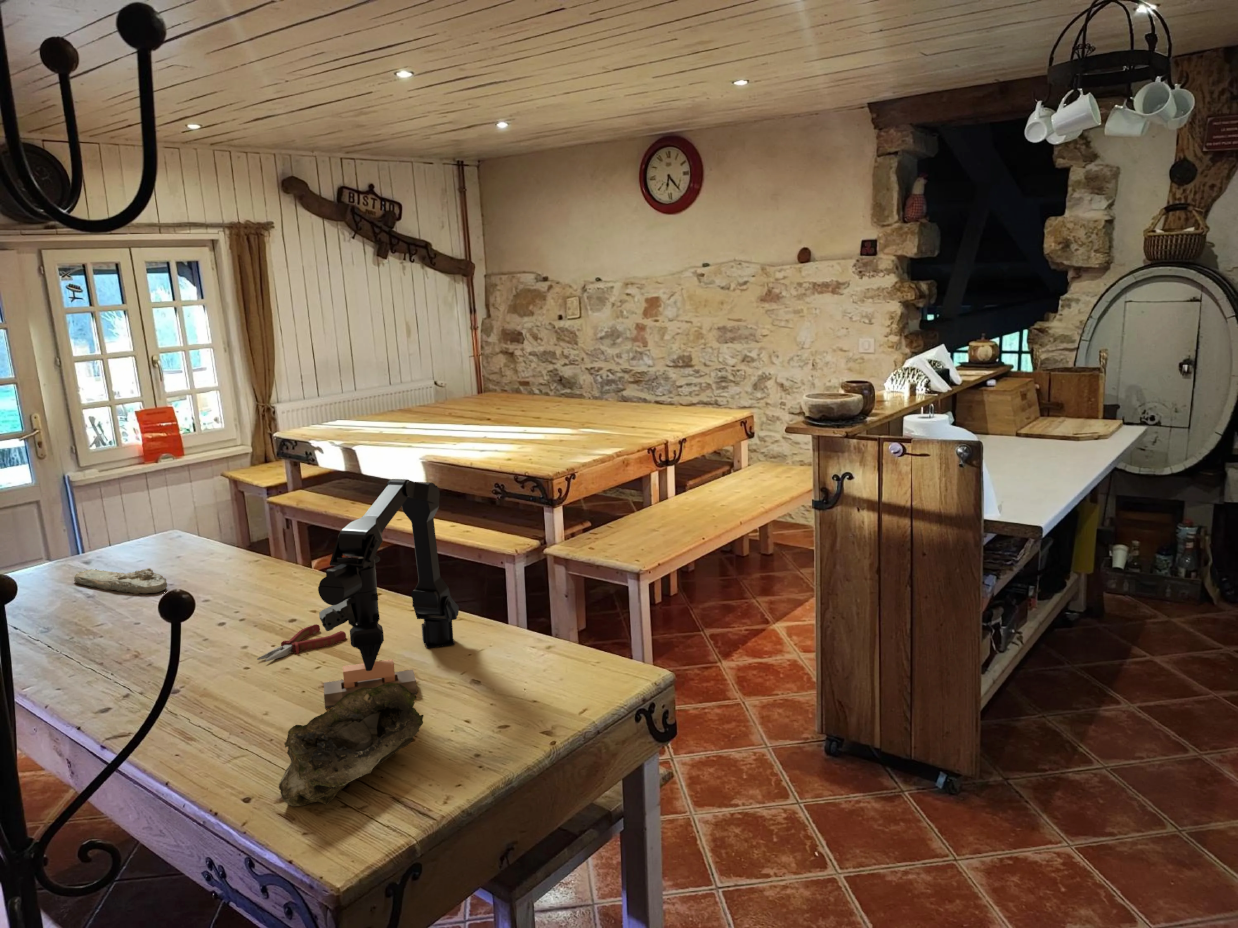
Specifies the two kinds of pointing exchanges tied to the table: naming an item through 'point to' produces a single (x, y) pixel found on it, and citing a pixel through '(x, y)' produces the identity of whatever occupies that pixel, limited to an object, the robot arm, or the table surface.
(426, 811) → the table surface
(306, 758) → the hollow geode rock
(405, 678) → the rail
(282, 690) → the table surface
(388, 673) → the clip
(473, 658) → the table surface
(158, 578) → the elongated rock
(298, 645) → the pliers
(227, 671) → the table surface
